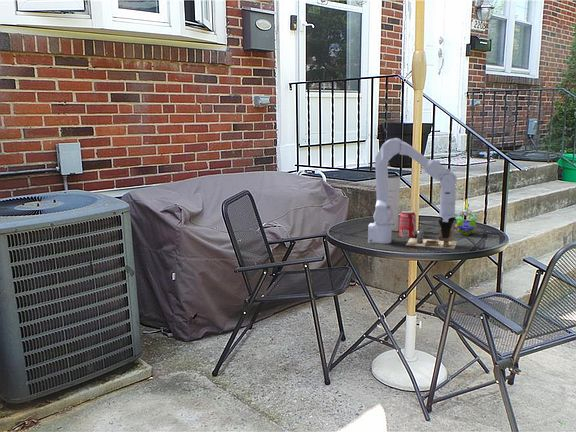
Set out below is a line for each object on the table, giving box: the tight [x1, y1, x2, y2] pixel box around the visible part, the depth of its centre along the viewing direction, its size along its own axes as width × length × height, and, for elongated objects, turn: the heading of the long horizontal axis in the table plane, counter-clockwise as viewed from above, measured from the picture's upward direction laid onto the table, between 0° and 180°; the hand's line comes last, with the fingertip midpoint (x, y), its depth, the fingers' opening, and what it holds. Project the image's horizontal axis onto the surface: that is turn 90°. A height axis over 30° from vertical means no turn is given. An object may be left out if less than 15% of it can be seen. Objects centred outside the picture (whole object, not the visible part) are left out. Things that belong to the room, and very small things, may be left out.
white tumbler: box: [388, 175, 401, 232], centre depth 239 cm, size 11×10×26 cm
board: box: [405, 237, 458, 250], centre depth 212 cm, size 19×14×4 cm
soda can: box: [398, 209, 417, 238], centre depth 226 cm, size 7×7×12 cm
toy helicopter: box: [454, 198, 478, 236], centre depth 229 cm, size 25×9×15 cm, turn 162°
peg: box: [416, 229, 424, 244], centre depth 213 cm, size 2×2×5 cm
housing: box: [438, 226, 455, 242], centre depth 207 cm, size 5×5×5 cm
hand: (446, 236), depth 207 cm, fingers closed on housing, 5 cm apart
